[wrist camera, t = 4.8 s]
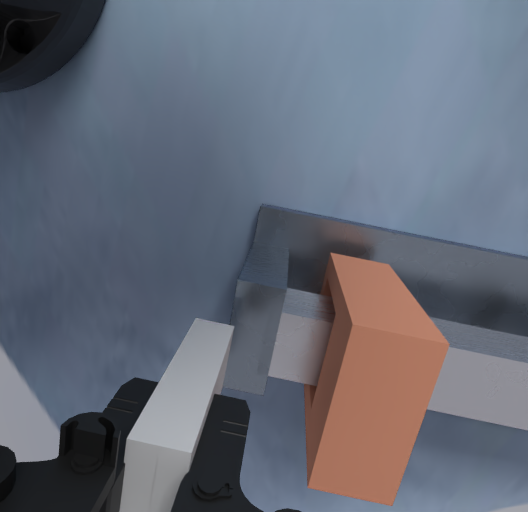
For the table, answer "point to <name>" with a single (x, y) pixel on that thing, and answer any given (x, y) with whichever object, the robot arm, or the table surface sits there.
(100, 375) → the table surface
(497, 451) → the table surface
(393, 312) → the terracotta rectangular block
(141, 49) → the table surface
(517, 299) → the grey rail frame
